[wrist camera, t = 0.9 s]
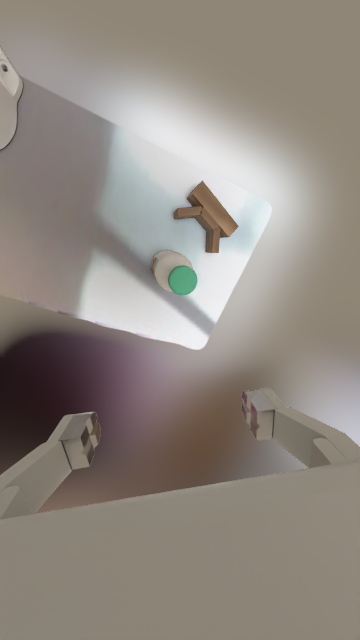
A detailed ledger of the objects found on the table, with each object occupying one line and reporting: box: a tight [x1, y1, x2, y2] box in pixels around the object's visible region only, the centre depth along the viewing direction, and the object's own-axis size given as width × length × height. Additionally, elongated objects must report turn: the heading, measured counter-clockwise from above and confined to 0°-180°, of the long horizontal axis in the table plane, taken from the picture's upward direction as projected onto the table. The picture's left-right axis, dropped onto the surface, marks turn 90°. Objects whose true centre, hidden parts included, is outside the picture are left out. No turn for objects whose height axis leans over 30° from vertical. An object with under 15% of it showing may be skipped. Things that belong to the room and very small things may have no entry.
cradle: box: [174, 181, 238, 253], centre depth 42 cm, size 8×13×5 cm, turn 48°
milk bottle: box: [151, 250, 197, 295], centre depth 37 cm, size 8×8×20 cm
